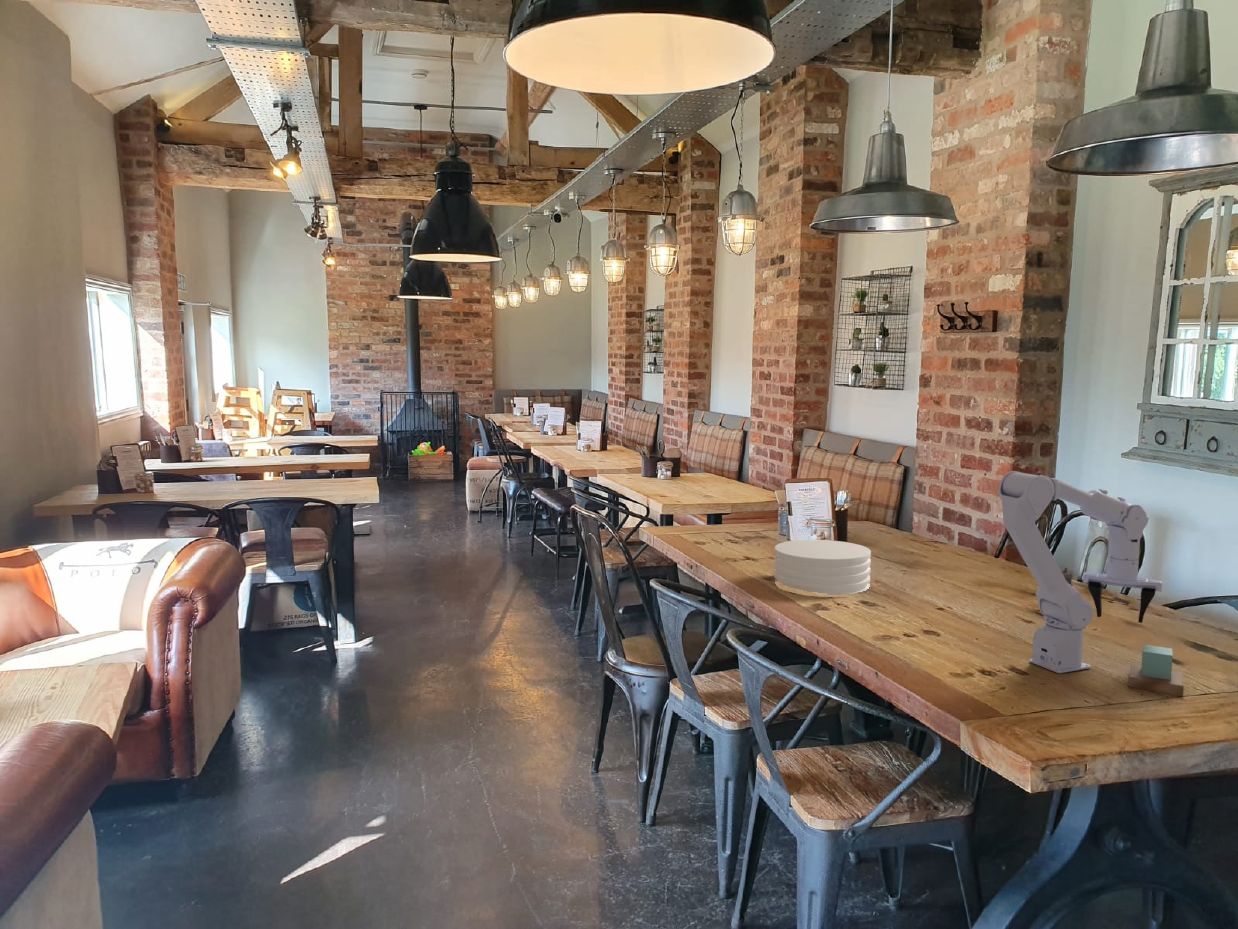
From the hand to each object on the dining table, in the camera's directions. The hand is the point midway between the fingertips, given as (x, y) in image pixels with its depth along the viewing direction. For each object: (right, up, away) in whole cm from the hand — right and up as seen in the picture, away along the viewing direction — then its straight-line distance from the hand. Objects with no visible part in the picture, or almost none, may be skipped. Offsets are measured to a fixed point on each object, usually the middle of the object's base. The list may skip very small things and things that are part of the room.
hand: (1119, 618), depth 177 cm
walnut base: (-1, -11, -13) cm, 17 cm away
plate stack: (-48, -3, +67) cm, 83 cm away
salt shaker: (+9, -6, +39) cm, 40 cm away
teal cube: (0, -9, -13) cm, 15 cm away
